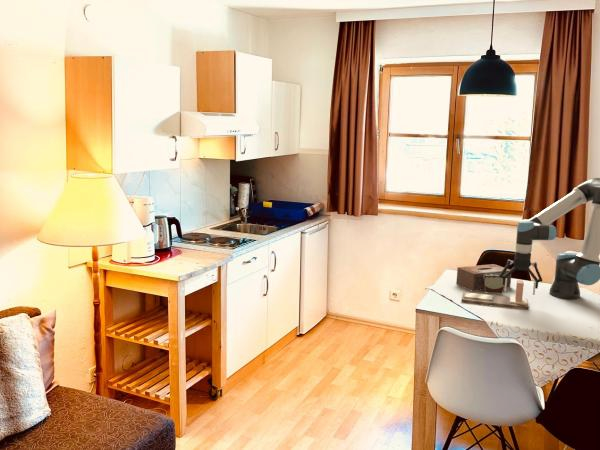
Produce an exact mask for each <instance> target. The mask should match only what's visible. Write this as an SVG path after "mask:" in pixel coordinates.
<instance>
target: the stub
mask: <svg viewBox="0 0 600 450" xmlns="http://www.w3.org/2000/svg"><path fill="white" fill-rule="evenodd" d="M524 285H525V284H524V280H521V279H517V280H516V288H515V295H514V296H515V297H512V296H509V297H510V303H514V304H523V305H527V301H528V298H523V295H524Z"/></svg>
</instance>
